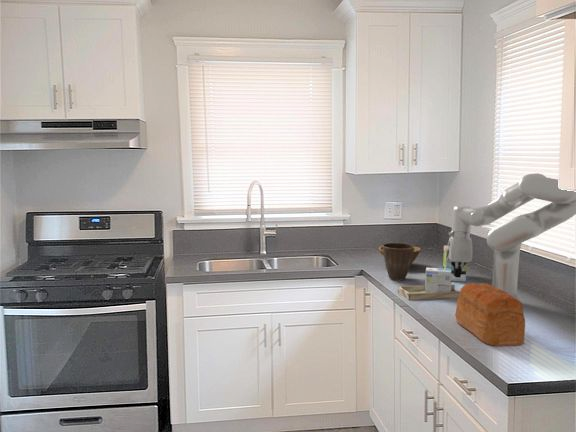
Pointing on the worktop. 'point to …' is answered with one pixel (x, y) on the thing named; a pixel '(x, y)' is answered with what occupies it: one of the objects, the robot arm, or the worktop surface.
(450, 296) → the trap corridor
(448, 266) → the tea box
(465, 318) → the bread
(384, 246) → the plant pot
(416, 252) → the bowl
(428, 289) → the light bulb box
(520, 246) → the robot arm
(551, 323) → the worktop surface
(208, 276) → the worktop surface
